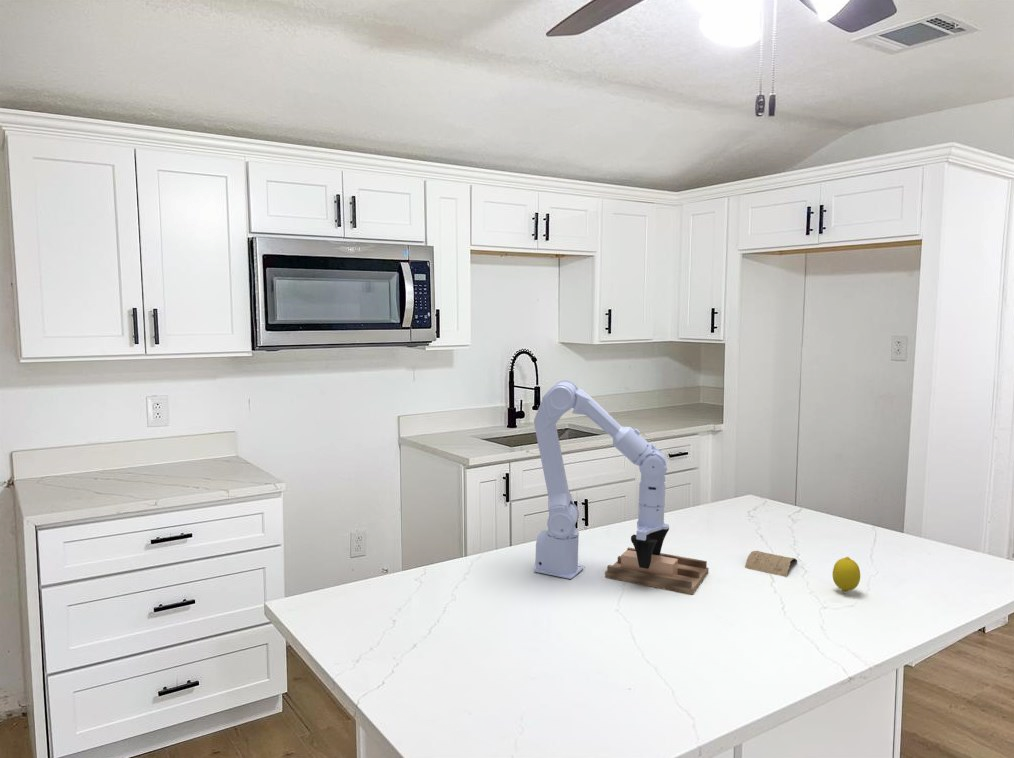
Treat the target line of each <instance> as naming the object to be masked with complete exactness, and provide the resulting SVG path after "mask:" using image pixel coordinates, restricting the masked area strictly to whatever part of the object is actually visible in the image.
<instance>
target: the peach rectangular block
mask: <svg viewBox="0 0 1014 758" xmlns="http://www.w3.org/2000/svg"><path fill="white" fill-rule="evenodd" d="M620 556H621V567H623V568H628V569H633V570H638V571H644V572H649V573H654V574H659V575H665V576H670V577H675V578H676V577H677V572H678V559H675V558H669V557H664V556H658V555H653V554H652V557H651V563H650V566H649V568H648V569H646V568H640V567H639V564H638V559H637V554H636V551H630V550H627V549H626V550H625V551H624V552H623V553H622V554H621V555H620Z"/></svg>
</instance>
